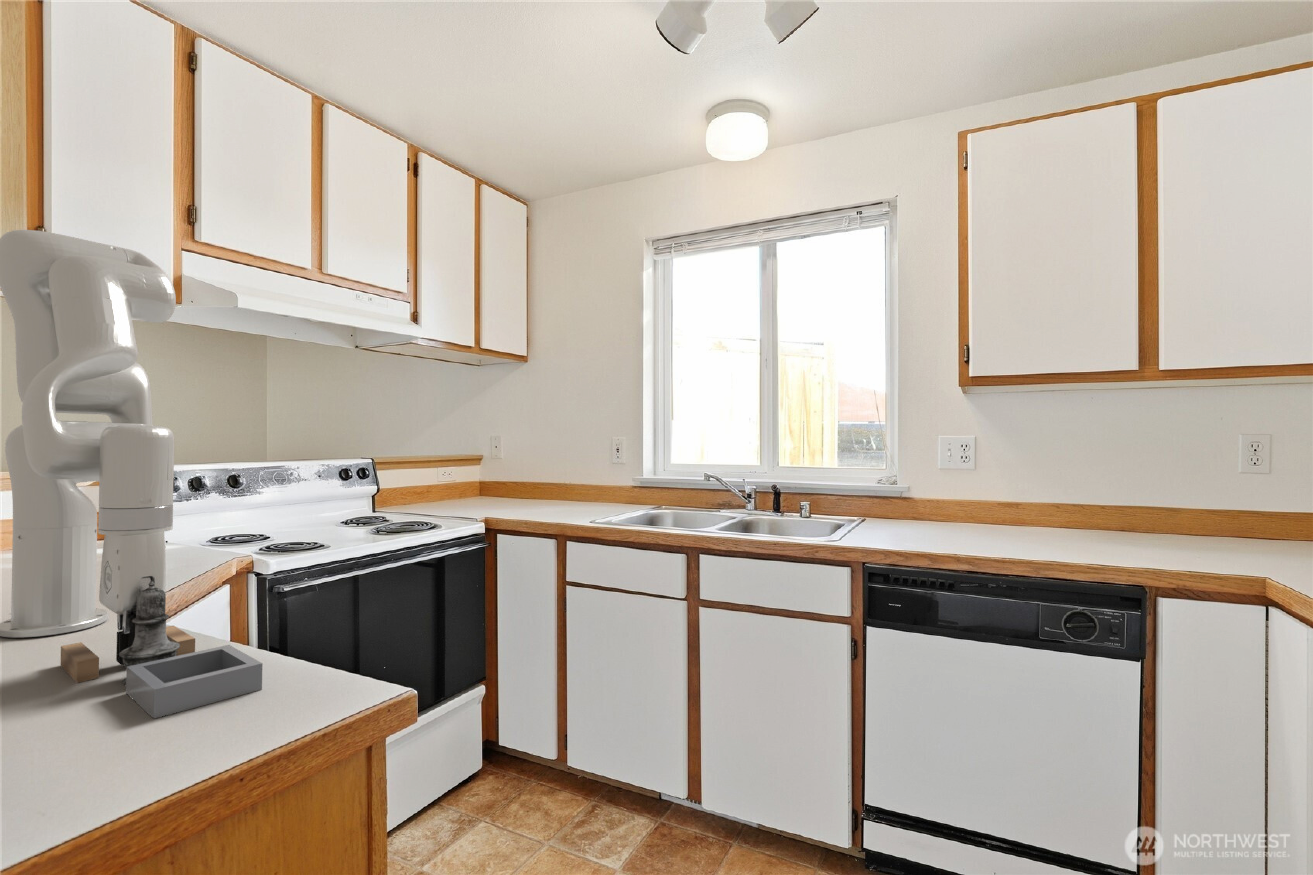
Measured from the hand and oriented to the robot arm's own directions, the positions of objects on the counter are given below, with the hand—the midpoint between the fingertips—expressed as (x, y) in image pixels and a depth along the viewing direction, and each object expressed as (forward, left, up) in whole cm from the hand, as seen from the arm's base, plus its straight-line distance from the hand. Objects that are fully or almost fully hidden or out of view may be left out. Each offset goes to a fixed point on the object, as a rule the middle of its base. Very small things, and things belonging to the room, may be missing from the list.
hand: (133, 660), depth 83 cm
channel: (-2, 0, -1) cm, 2 cm away
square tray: (+16, +2, -1) cm, 16 cm away
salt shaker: (+7, 0, -1) cm, 7 cm away
